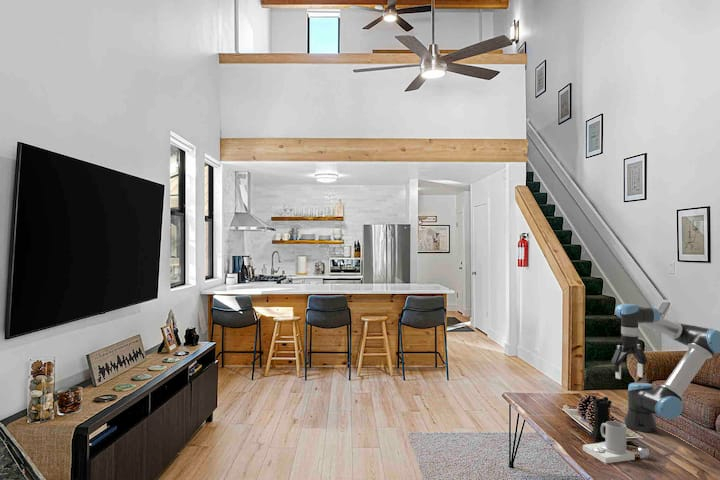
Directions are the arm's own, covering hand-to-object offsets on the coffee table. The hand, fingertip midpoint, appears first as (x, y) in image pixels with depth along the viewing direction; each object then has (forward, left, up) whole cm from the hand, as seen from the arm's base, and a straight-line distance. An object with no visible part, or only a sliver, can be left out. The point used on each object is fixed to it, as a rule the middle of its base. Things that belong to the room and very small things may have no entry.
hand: (629, 377), depth 237 cm
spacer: (+10, +18, -31) cm, 37 cm away
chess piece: (+13, -4, -31) cm, 34 cm away
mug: (+22, +12, -27) cm, 37 cm away
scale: (+24, +12, -31) cm, 41 cm away
